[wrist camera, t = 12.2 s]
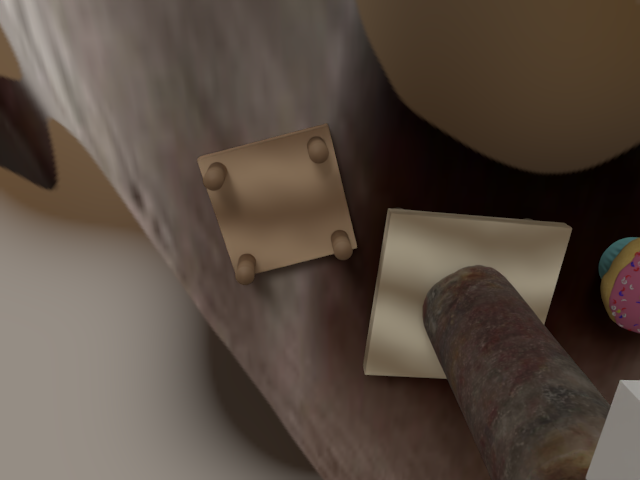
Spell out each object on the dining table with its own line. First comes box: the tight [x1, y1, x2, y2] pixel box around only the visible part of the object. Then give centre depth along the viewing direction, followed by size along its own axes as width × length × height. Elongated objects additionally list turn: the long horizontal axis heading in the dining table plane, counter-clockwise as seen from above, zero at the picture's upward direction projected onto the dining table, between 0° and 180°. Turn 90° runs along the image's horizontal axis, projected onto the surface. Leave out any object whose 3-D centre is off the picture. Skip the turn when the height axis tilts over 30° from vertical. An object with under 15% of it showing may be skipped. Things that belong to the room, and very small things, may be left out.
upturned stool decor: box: [197, 123, 357, 285], centre depth 40 cm, size 10×10×4 cm
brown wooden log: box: [423, 265, 611, 480], centre depth 32 cm, size 8×7×20 cm
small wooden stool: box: [363, 207, 572, 379], centre depth 44 cm, size 14×14×4 cm
